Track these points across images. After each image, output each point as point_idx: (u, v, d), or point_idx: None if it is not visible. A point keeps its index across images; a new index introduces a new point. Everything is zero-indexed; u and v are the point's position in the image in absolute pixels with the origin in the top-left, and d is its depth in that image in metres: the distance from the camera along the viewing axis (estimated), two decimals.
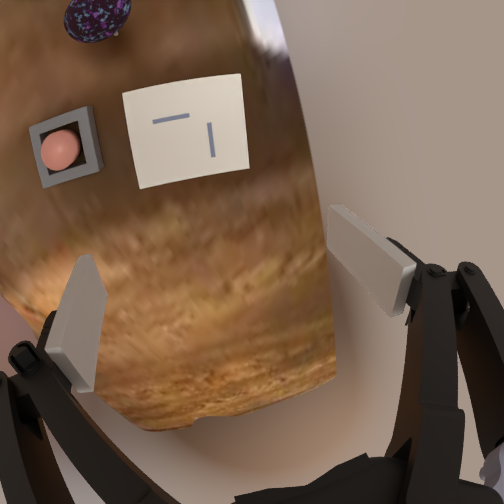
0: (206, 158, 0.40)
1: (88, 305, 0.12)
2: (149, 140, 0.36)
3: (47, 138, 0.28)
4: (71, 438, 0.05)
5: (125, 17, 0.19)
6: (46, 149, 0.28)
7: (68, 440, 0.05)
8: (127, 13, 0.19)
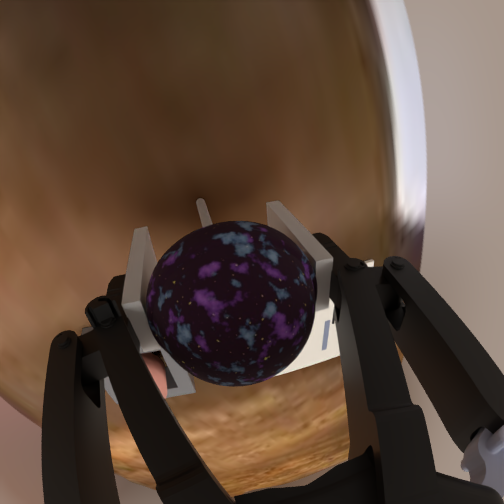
0: (316, 351, 0.34)
1: (150, 271, 0.14)
2: None
3: None
4: (133, 398, 0.07)
5: None
6: None
7: (129, 399, 0.07)
8: None
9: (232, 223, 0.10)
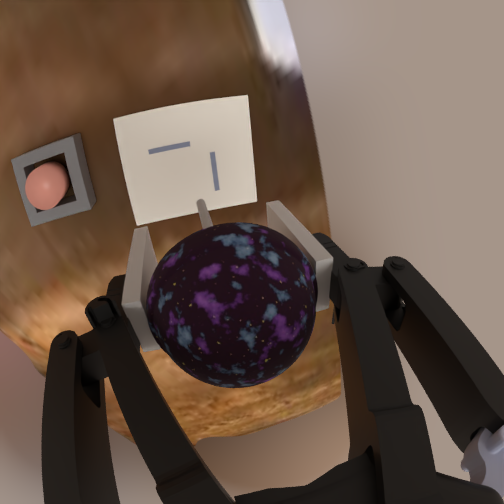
0: (210, 191, 0.37)
1: (150, 271, 0.14)
2: (145, 172, 0.33)
3: (31, 174, 0.25)
4: (133, 398, 0.07)
5: None
6: (31, 186, 0.25)
7: (129, 399, 0.07)
8: None
9: (232, 225, 0.10)
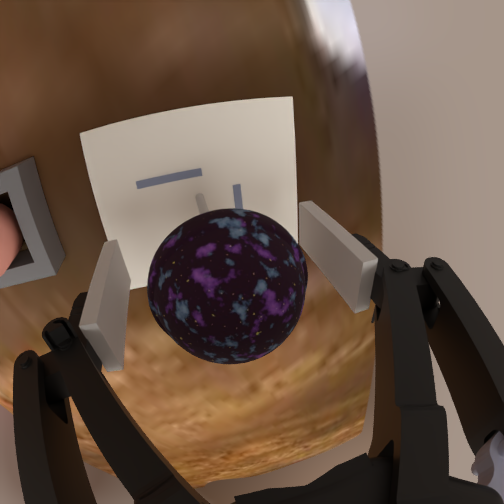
0: None
1: (116, 287, 0.13)
2: (133, 216, 0.22)
3: None
4: (98, 418, 0.06)
5: None
6: None
7: (94, 419, 0.06)
8: None
9: (227, 210, 0.11)
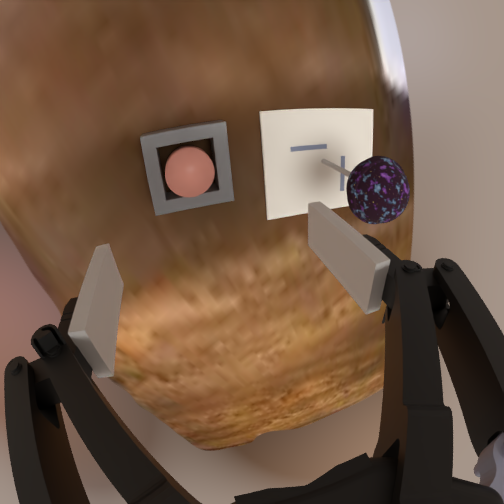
0: (336, 191, 0.39)
1: (107, 292, 0.12)
2: (285, 168, 0.36)
3: (177, 156, 0.27)
4: (89, 424, 0.06)
5: None
6: (174, 169, 0.28)
7: (86, 425, 0.06)
8: None
9: (382, 156, 0.25)
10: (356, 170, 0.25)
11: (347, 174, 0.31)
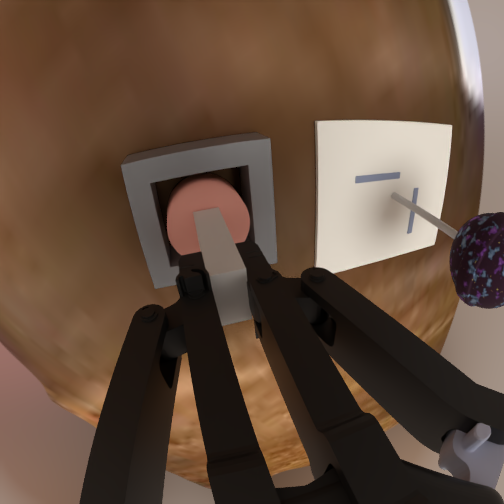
0: (402, 234, 0.28)
1: None
2: (345, 207, 0.24)
3: (186, 197, 0.16)
4: (207, 372, 0.08)
5: None
6: (182, 220, 0.17)
7: (202, 373, 0.08)
8: None
9: None
10: (478, 237, 0.14)
11: (439, 225, 0.19)
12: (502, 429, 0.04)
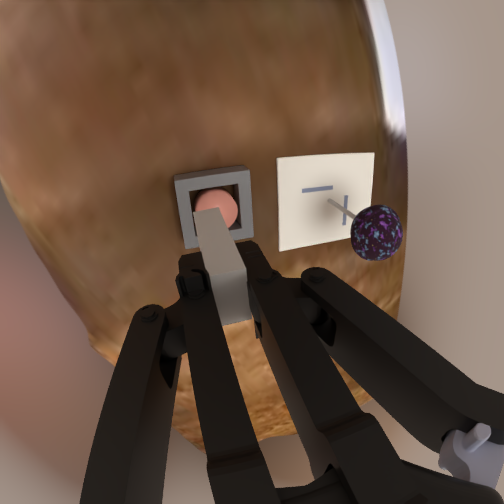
0: (339, 225, 0.45)
1: None
2: (296, 207, 0.42)
3: (207, 197, 0.34)
4: (207, 372, 0.08)
5: None
6: (204, 209, 0.35)
7: (202, 373, 0.08)
8: None
9: (381, 205, 0.31)
10: (359, 218, 0.31)
11: (350, 216, 0.37)
12: (502, 429, 0.04)
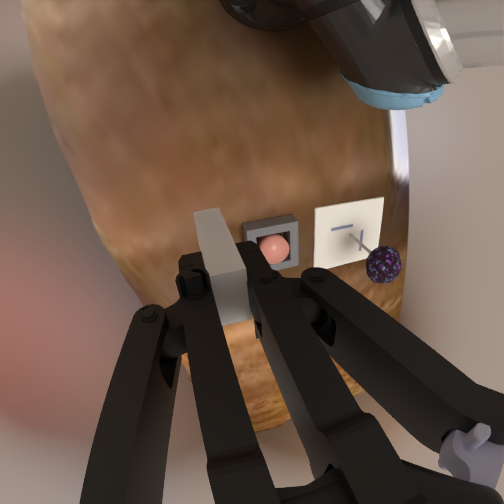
0: (356, 251, 0.60)
1: None
2: (326, 241, 0.57)
3: (269, 242, 0.50)
4: (207, 372, 0.08)
5: None
6: (267, 249, 0.50)
7: (202, 373, 0.08)
8: None
9: (387, 246, 0.46)
10: (372, 256, 0.46)
11: (366, 249, 0.52)
12: (502, 429, 0.04)
